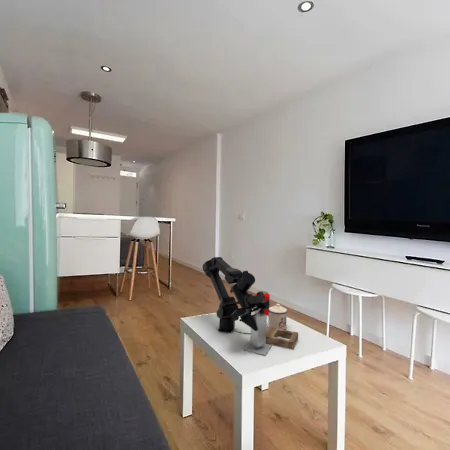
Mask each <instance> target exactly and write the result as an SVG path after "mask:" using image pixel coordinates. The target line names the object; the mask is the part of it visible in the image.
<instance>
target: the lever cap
mask: <svg viewBox="0 0 450 450" xmlns="http://www.w3.org/2000/svg"><path fill="white" fill-rule="evenodd" d="M251 315H252V319H253V321H254V323H255V325H256V327H257V331H254V330H253V329H252V328H251V327H250V342H249V343H250V344H252V345H254V346H256V347H259V346H262V345H264V344H266V327H267V318H268V317H267V316H268V315H265V314H262V313H256V314H255V313H254V314H251Z"/></svg>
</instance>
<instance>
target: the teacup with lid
mask: <svg viewBox="0 0 450 450" xmlns="http://www.w3.org/2000/svg"><path fill="white" fill-rule="evenodd" d="M268 310H269V314H268V326H267V327H272V328H278V329H283V330H287V316H288V315H287V313H288V309H287V308H285V307H283V306H282V305H281V304H280V303H276V304H275V305H273V306H269V309H268Z"/></svg>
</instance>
